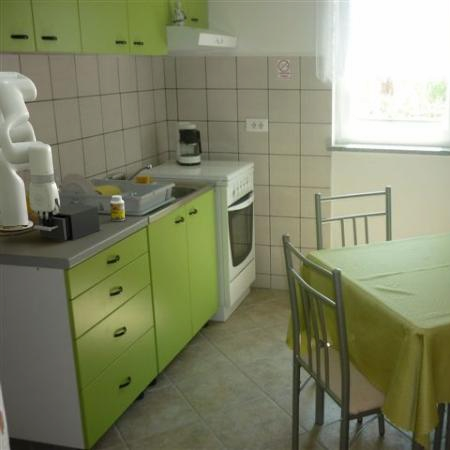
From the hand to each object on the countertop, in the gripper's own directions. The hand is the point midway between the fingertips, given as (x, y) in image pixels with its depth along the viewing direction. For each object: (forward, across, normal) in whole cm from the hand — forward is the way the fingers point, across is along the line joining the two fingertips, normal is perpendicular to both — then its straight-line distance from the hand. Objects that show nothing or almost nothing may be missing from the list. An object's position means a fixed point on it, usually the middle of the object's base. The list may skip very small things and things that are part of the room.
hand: (48, 228), depth 212 cm
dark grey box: (+5, 0, +13) cm, 14 cm away
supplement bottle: (+5, +3, +36) cm, 36 cm away
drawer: (+4, 0, +6) cm, 7 cm away
